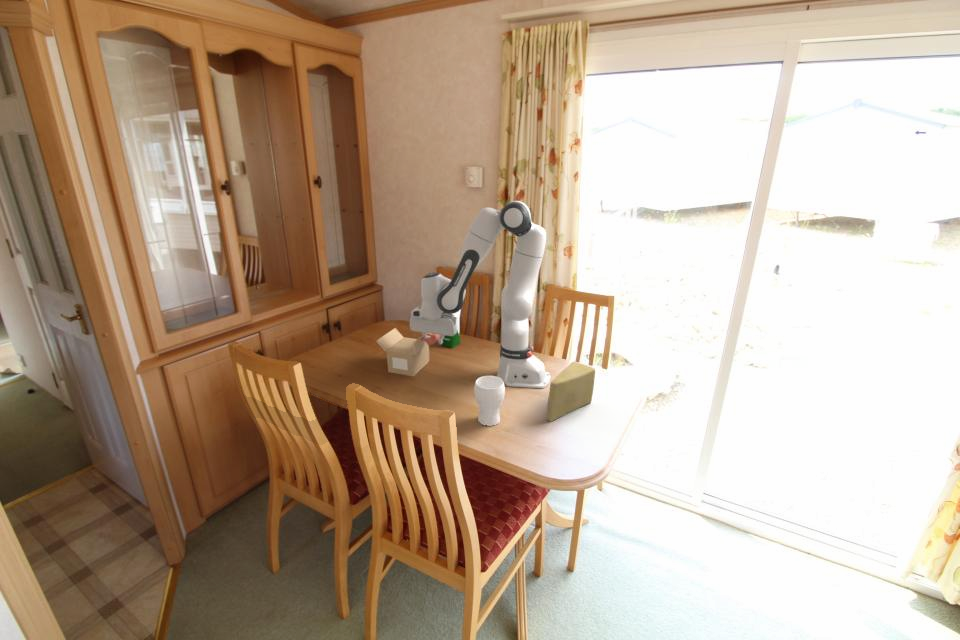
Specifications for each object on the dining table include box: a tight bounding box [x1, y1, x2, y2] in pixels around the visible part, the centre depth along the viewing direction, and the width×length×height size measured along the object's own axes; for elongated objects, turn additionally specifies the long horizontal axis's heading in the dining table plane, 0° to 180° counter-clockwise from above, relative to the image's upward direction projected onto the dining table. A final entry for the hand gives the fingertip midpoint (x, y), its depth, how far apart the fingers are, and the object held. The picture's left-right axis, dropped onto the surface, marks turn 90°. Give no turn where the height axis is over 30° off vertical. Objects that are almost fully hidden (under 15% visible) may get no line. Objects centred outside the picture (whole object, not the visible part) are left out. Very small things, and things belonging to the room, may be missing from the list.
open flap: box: [375, 327, 405, 353], centre depth 190 cm, size 6×16×1 cm
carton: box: [386, 336, 430, 377], centre depth 190 cm, size 12×16×10 cm
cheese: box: [546, 361, 596, 423], centre depth 157 cm, size 22×10×15 cm, turn 137°
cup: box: [473, 375, 506, 427], centre depth 150 cm, size 11×11×15 cm
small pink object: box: [413, 333, 441, 355], centre depth 184 cm, size 7×16×7 cm
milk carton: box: [440, 309, 462, 349], centre depth 212 cm, size 9×9×20 cm
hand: (433, 342), depth 184 cm, fingers open, 5 cm apart
